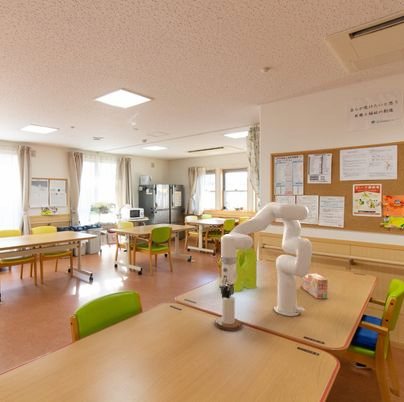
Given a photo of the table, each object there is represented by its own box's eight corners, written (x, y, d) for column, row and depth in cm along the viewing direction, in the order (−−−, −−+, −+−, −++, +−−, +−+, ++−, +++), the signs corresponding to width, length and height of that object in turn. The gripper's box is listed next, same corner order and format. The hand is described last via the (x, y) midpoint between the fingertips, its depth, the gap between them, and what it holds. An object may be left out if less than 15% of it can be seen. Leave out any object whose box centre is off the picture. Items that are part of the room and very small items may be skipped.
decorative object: (234, 292, 192) (234, 247, 191) (227, 289, 198) (227, 245, 197) (256, 287, 202) (256, 244, 200) (249, 284, 207) (249, 242, 206)
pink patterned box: (300, 287, 201) (301, 269, 201) (309, 287, 201) (310, 269, 201) (317, 298, 180) (317, 279, 179) (327, 299, 180) (327, 279, 179)
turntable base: (244, 323, 148) (244, 321, 148) (237, 333, 137) (237, 331, 137) (220, 317, 155) (220, 315, 155) (211, 326, 144) (211, 324, 144)
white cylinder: (243, 321, 147) (243, 285, 147) (236, 330, 138) (236, 291, 137) (221, 316, 154) (221, 281, 153) (213, 324, 144) (213, 287, 143)
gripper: (230, 264, 135) (230, 303, 136) (241, 257, 149) (241, 292, 150) (215, 262, 139) (215, 299, 140) (227, 255, 154) (226, 289, 154)
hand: (228, 295), depth 145 cm, fingers open, 5 cm apart
